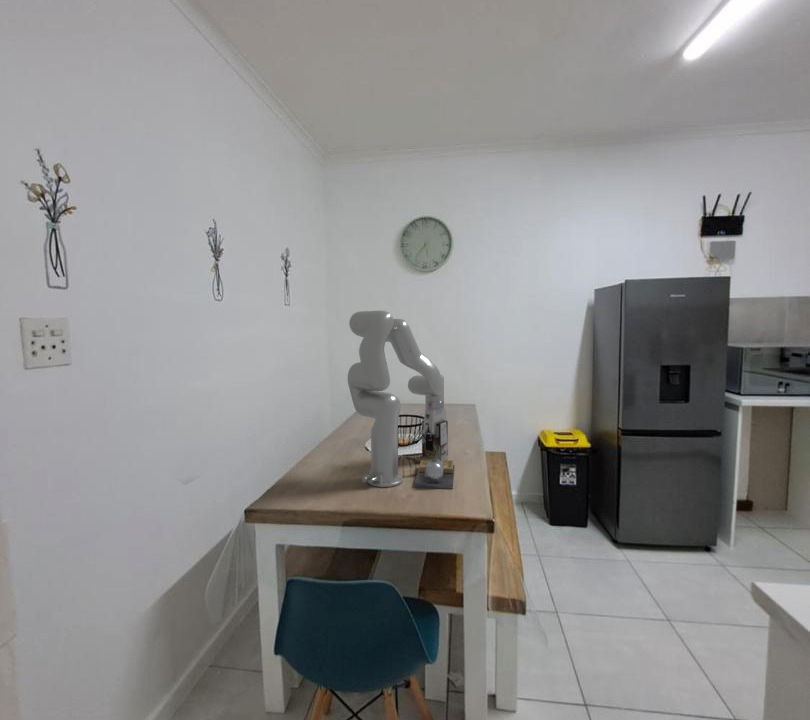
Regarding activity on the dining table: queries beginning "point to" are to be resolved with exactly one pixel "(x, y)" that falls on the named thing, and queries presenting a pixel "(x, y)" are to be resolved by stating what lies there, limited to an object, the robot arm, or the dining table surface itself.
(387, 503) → the dining table surface
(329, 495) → the dining table surface
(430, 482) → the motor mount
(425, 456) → the coffee box
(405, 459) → the dining table surface
